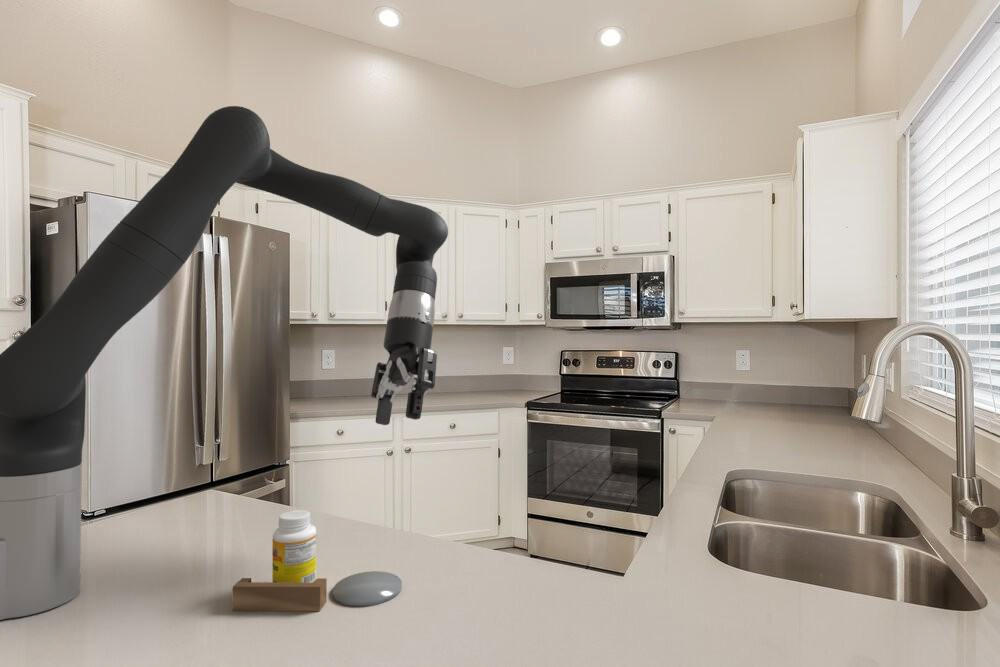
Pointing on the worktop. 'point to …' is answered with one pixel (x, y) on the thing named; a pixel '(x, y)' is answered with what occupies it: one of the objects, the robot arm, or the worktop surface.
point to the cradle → (279, 595)
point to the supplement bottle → (294, 548)
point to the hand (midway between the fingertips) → (397, 421)
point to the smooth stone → (367, 588)
